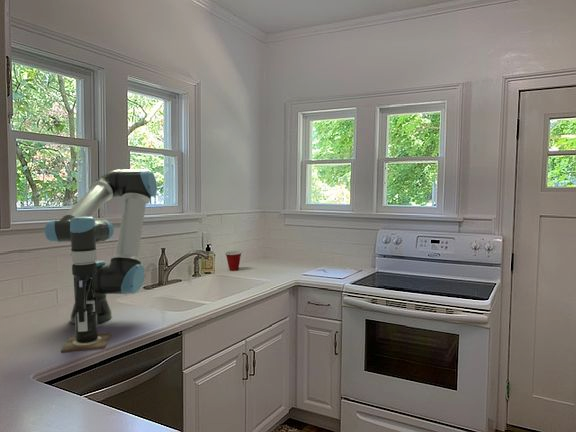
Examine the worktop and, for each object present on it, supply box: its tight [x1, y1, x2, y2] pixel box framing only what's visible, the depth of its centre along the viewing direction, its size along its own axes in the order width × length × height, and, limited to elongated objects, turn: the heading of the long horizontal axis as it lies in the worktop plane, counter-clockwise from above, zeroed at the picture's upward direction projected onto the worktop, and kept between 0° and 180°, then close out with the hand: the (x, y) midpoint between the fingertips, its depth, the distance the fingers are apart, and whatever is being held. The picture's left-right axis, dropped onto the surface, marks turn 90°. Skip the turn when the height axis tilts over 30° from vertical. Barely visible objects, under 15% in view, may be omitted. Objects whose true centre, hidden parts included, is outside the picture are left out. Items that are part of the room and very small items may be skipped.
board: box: [60, 332, 112, 353], centre depth 148 cm, size 14×13×1 cm
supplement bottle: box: [74, 304, 99, 343], centre depth 148 cm, size 7×7×12 cm
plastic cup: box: [224, 250, 242, 272], centre depth 283 cm, size 11×11×12 cm
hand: (87, 324), depth 148 cm, fingers open, 13 cm apart
